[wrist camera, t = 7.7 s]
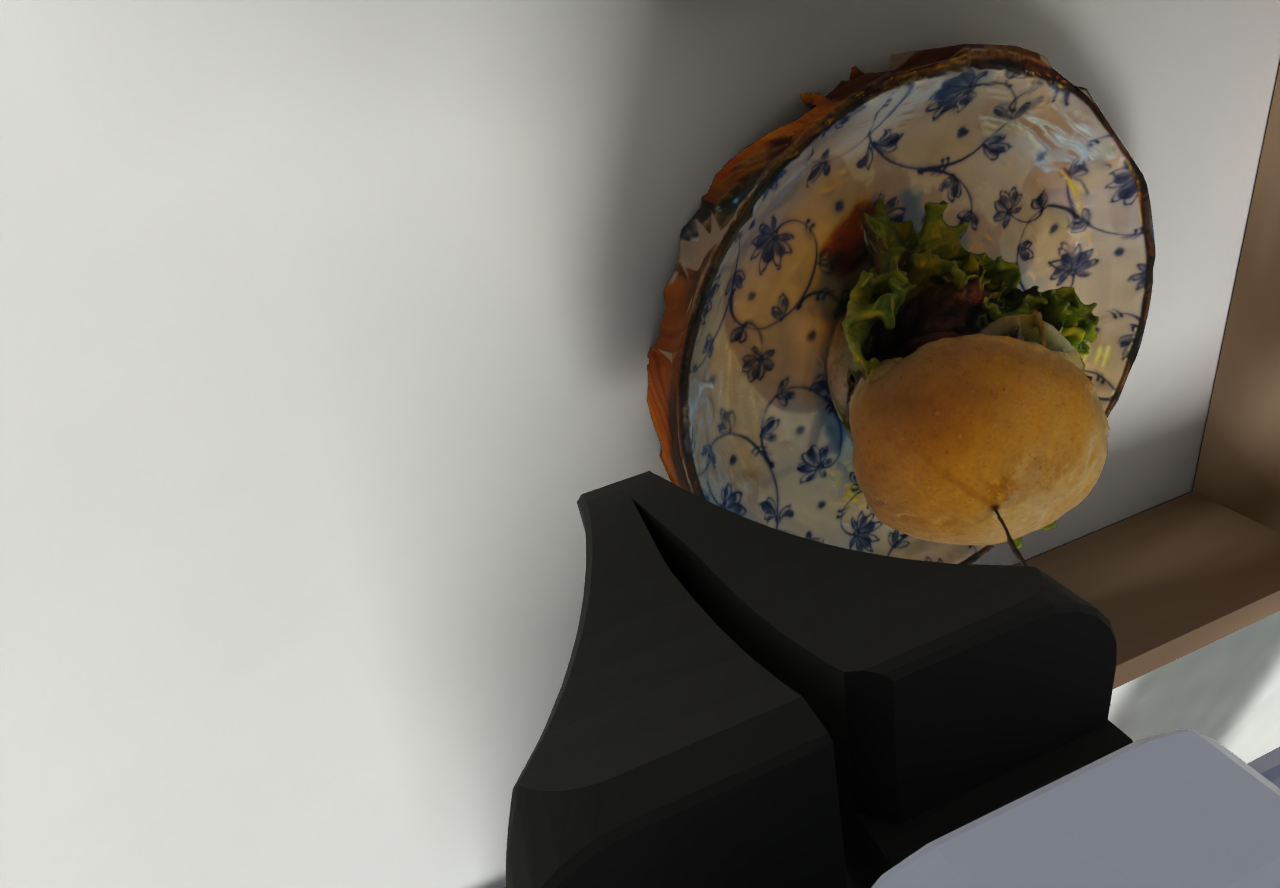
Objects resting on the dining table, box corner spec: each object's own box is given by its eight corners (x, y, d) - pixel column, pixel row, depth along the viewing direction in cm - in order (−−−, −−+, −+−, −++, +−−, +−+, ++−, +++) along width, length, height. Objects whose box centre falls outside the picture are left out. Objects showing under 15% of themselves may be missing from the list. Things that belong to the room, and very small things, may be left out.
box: (1208, 504, 23) (1355, 574, 19) (759, 693, 20) (840, 817, 16) (1365, -215, 14) (1673, -316, 11) (633, -79, 11) (744, -161, 8)
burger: (1046, 504, 21) (1347, 682, 14) (663, 617, 18) (823, 901, 11) (1137, 28, 15) (1682, -32, 9) (612, 79, 13) (858, 44, 6)
